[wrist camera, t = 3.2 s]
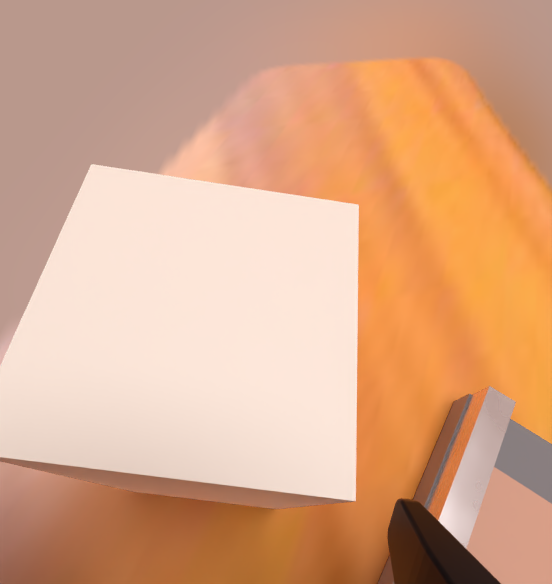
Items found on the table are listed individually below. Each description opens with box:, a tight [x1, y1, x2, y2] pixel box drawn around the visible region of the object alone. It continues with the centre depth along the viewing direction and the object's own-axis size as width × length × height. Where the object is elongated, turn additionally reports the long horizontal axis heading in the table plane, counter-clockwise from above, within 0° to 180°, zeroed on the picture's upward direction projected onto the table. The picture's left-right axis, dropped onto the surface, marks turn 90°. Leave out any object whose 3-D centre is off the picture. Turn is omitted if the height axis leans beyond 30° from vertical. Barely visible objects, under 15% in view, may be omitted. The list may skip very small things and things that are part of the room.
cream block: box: [0, 164, 359, 509], centre depth 13 cm, size 6×6×12 cm
